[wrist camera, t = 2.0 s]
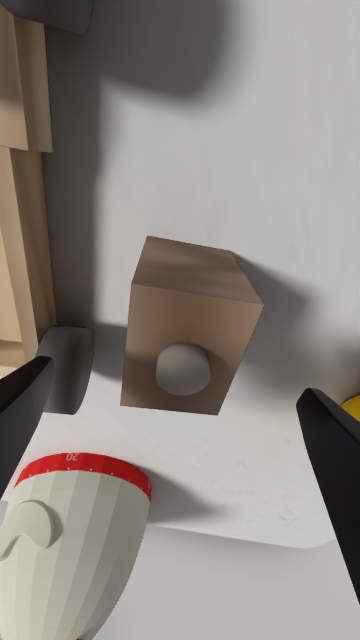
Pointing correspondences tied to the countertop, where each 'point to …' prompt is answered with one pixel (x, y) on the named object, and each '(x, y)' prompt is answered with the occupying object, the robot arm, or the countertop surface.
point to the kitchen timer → (69, 545)
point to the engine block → (186, 327)
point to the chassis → (33, 203)
